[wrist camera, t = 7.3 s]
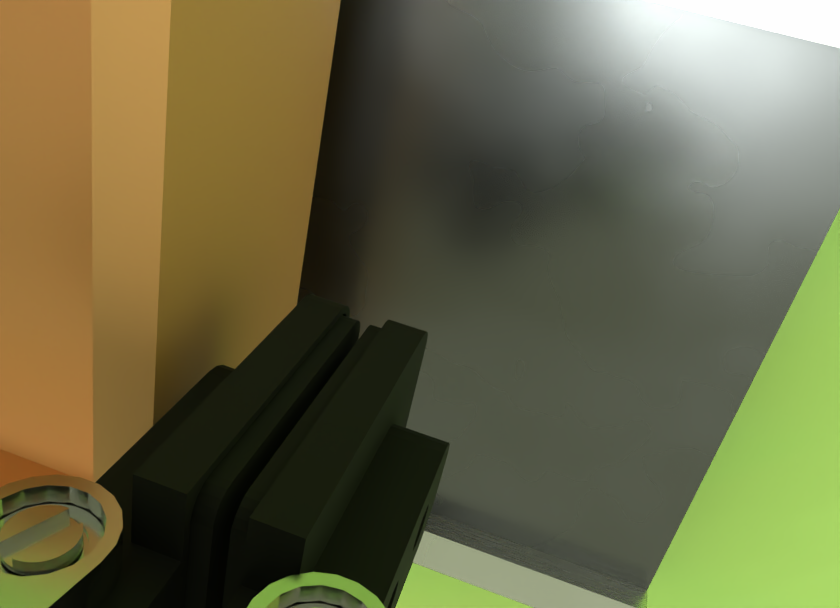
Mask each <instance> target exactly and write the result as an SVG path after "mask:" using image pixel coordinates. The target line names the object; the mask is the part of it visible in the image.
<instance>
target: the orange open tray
mask: <svg viewBox="0 0 840 608" xmlns="http://www.w3.org/2000/svg"><path fill="white" fill-rule="evenodd" d="M340 2H341V0H0V487H2V486H4V485H6V484H8V483H12V482H15V481H19V480H22V479H26V478H29V477H34V476H45V475H66V476H74V477H81V478H84V479H86V480H89V481H92V482H94V483H95V482H96V481H97V480H98V479H99V478H100V477H101V476H102V475H103V474H104V473H105V472H106V471H107V470H108V469H109V468H110V467H111V466H112V465H114V464H115V463H116V462H117V461H118V460H119V459H120V458H121V457H122V456H123V455H124V454H125V453H126V452H127V451H128V450H129V449H130V448H131V447H132V446H133V445H134V444H135V443H136V442H137V441H138V440H139V439H140V438H141V437H142V436H143V435H144V434H145V433H146V432H147V431H148V430H149V429H150V428H151V427H152V426H154V425H155V424H156V423H157V422H158V421H159V420H160V419H161V418H162V417H163V416H164V415H165V414H166V413H167V412H168V411H169V410H170V409H171V408H172V407H173V406H174V405H175V404H176V403H177V402H178V401H179V400H180V399H181V398H182V397H183V396H184V395H185V394H186V393H187V392H188V391H189V390H190V389H191V388H192V387H194V386H195V385H196V384H197V383H198V382H199V381H200V380H201V379H202V378H203V377H204V376H205V375H206V374H207V373H208V372H209V371H210V370H212V369H213V368H214V367H216V366H218V365H225V366H228V367H231V368H234V369H235V368H236V367H237V366H238V365H239V364H240V363H241V362H242V361H243V360H244V359H245V358H246V357H247V356H248V355H249V354H250V353H251V352H252V351H253V350H254V349H255V348H256V347H257V346H258V345H259V344H260V343H261V342H262V341H263V340H264V339H265V338H266V337H267V335H268V334H269V333H270V332H271V331H272V330H273V329H274V328H275V327H276V326H277V325H278V324H279V323H280V322H281V321H282V320H283V319H284V318H285V317H286V316H287V315H288V314H289V313H290V312H291V311H292V310H293V309H294V308H295V307H296V306H297V300H298V293H299V286H300V279H301V272H302V265H303V258H304V252H305V245H306V238H307V231H308V224H309V217H310V210H311V203H312V196H313V189H314V182H315V175H316V168H317V161H318V154H319V148H320V141H321V134H322V127H323V120H324V113H325V106H326V99H327V92H328V85H329V78H330V71H331V64H332V57H333V51H334V44H335V37H336V30H337V23H338V16H339V9H340Z"/></svg>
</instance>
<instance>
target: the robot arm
mask: <svg viewBox="0 0 840 608" xmlns="http://www.w3.org/2000/svg"><path fill="white" fill-rule="evenodd" d="M349 316H350V309H349V307H348V306H346V305H343V304H340V303H337V302H334V301H331V300H328V299H325V298H322V297H319V296H316V295H312V294H308V295H307V296H305V297H304V298H303V299H302V300H301V302H300V303H299V304H298V305H297V306H296V307H295V308H294V309H293V310H292V311H291V312H290V313H289V314H288V315H287V316H286V317H285V318H284V319H283V320H282V321H281V322H280V323H279V324H278V325H277V326H276V327H275V328H274V329H273V330H272V331H271V332H270V333H269V334H268V335H267V337H266V338H265V339H264V340H263V341H262V342H261V343H260V344H259V345H258V346H257V347H256V348H255V349H254V350H253V351H252V352H251V353H250V354H249V355H248V356H247V357H246V358H245V359H244V360H243V361H242V362H241V363H240V364H239V365H238V366H237V367H236V368H235V369H234V368H231V367H228V366H225V365H218V366H216V367H214V368H213V369H212V370H210V371H209V372H208V373H207V374H206V375H205V376H204V377H203V378H202V379H201V380H200V381H199V382H198V383H197V384H196V385H195V386H194V387H192V388H191V389H190V390H189V391H188V392H187V393H186V394H185V395H184V396H183V397H182V398H181V399H180V400H179V401H178V402H177V403H176V404H175V405H174V406H173V407H172V408H171V409H170V410H169V411H168V412H167V413H166V414H165V415H164V416H163V417H162V418H161V419H160V420H159V421H158V422H157V423H156V424H155V425H154V426H152V427H151V428H150V429H149V430H148V431H147V432H146V433H145V434H144V435H143V436H142V437H141V438H140V439H139V440H138V441H137V442H136V443H135V444H134V445H133V446H132V447H131V448H130V449H129V450H128V451H127V452H126V453H125V454H124V455H123V456H122V457H121V458H120V459H119V460H118V461H117V462H116V463H115V464H114V465H112V466H111V467H110V468H109V469H108V470H107V471H106V472H105V473H104V474H103V475H102V476H101V477H100V478H99V479H98V480H97V481H96V482H95V483H94V482H92V481H89V480H86V479H84V478H81V477H74V476H66V475H45V476H34V477H29V478H26V479H22V480H19V481H15V482H12V483H8V484H6V485H4V486H2V487H0V608H395V607H396V604H397V601H398V599H399V596H400V594H401V591H402V589H403V586H404V583H405V581H406V578H407V576H408V573H409V570H410V568H411V565H412V563H413V560H414V557H415V555H416V552H417V550H418V547H419V544H420V541H421V539H422V536H423V533H424V530H425V527H426V524H427V521H428V518H429V515H430V512H431V509H432V506H433V503H434V500H435V497H436V493H437V490H438V487H439V483H440V480H441V476H442V473H443V469H444V466H445V462H446V458H447V455H448V451H449V446H450V443H448V442H445V441H443V440H440V439H437V438H434V437H431V436H428V435H425V434H422V433H419V432H416V431H414V430H411V429H408V428H406V425H407V421H408V417H409V413H410V409H411V405H412V401H413V397H414V392H415V388H416V384H417V380H418V376H419V372H420V368H421V364H422V360H423V356H424V352H425V348H426V343H427V337H428V332H427V331H424V330H420V329H417V328H414V327H411V326H408V325H405V324H402V323H399V322H396V321H393V320H387V321H386V322H385V324H384V325H383V327H382V328H380V327H377V326H374V325H369V326H368V327H367V329H366V330H365V331H364V333H363V334H362V335H361V337H360V338H359V333H360V321H358V320H355V319H352V318H349ZM358 338H359V340H358Z"/></svg>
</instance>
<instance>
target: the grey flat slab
mask: <svg viewBox="0 0 840 608" xmlns="http://www.w3.org/2000/svg"><path fill="white" fill-rule="evenodd" d="M839 209H840V0H341V2H340V9H339V16H338V23H337V30H336V37H335V44H334V51H333V57H332V64H331V71H330V78H329V85H328V92H327V99H326V106H325V113H324V120H323V127H322V134H321V141H320V148H319V154H318V161H317V168H316V175H315V182H314V189H313V196H312V203H311V210H310V217H309V224H308V231H307V238H306V245H305V252H304V258H303V265H302V272H301V279H300V286H299V293H298V300H297V305H298V304H299V303H300V302H301V300H302V299H303V298H304V297H305V296H307V295H308V294H312V295H316V296H319V297H322V298H325V299H328V300H331V301H334V302H337V303H340V304H343V305H346V306H348V307H349V309H350V316H349V318H352V319H355V320H358V321H360V333H359V338H360V337H361V335H362V334H363V333H364V331H365V330H366V329H367V327H368V326H369V325H374V326H377V327H380V328H382V327H383V325H384V324H385V322H386V321H387V320H393V321H396V322H399V323H402V324H405V325H408V326H411V327H414V328H417V329H420V330H424V331H427V332H428V337H427V343H426V348H425V352H424V356H423V360H422V364H421V368H420V372H419V376H418V380H417V384H416V388H415V392H414V397H413V401H412V405H411V409H410V413H409V417H408V421H407V425H406V428H408V429H411V430H414V431H416V432H419V433H422V434H425V435H428V436H431V437H434V438H437V439H440V440H443V441H445V442H448V443H450V446H449V451H448V455H447V458H446V462H445V466H444V469H443V473H442V476H441V480H440V483H439V487H438V490H437V493H436V497H435V500H434V503H433V506H432V509H431V512H430V515H429V518H428V521H427V524H426V527H425V530H424V533H423V536H422V539H421V541H420V544H419V547H418V550H417V552H416V555H415V557H414V560H413V563H415V564H418V565H421V566H423V567H426V568H429V569H431V570H434V571H437V572H440V573H442V574H445V575H448V576H450V577H453V578H456V579H458V580H461V581H464V582H466V583H469V584H472V585H475V586H477V587H480V588H483V589H485V590H488V591H491V592H493V593H496V594H499V595H502V596H504V597H507V598H510V599H512V600H515V601H518V602H520V603H523V604H526V605H528V606H531V607H534V608H647V589H648V587H649V585H650V583H651V581H652V579H653V577H654V575H655V573H656V571H657V569H658V567H659V565H660V563H661V561H662V559H663V557H664V555H665V553H666V551H667V549H668V547H669V545H670V543H671V541H672V539H673V537H674V535H675V533H676V531H677V529H678V527H679V525H680V523H681V522H682V520H683V518H684V516H685V514H686V512H687V510H688V508H689V506H690V504H691V502H692V500H693V498H694V496H695V494H696V492H697V490H698V488H699V486H700V484H701V482H702V480H703V478H704V476H705V474H706V472H707V470H708V468H709V466H710V464H711V462H712V460H713V458H714V456H715V454H716V452H717V450H718V448H719V446H720V444H721V442H722V440H723V438H724V436H725V434H726V432H727V430H728V428H729V426H730V424H731V422H732V421H733V419H734V417H735V415H736V413H737V411H738V409H739V407H740V405H741V403H742V401H743V399H744V397H745V395H746V393H747V391H748V389H749V387H750V385H751V383H752V381H753V379H754V377H755V375H756V373H757V371H758V369H759V367H760V365H761V363H762V361H763V359H764V357H765V355H766V353H767V351H768V349H769V347H770V345H771V343H772V341H773V339H774V337H775V335H776V333H777V331H778V329H779V327H780V325H781V323H782V321H783V320H784V318H785V316H786V314H787V312H788V310H789V308H790V306H791V304H792V302H793V300H794V298H795V296H796V294H797V292H798V290H799V288H800V286H801V284H802V282H803V280H804V278H805V276H806V274H807V272H808V270H809V268H810V266H811V264H812V262H813V260H814V258H815V256H816V254H817V252H818V250H819V248H820V246H821V244H822V242H823V240H824V238H825V236H826V234H827V232H828V230H829V228H830V226H831V224H832V222H833V220H834V219H835V217H836V215H837V213H838V211H839ZM359 338H358V340H359Z"/></svg>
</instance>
